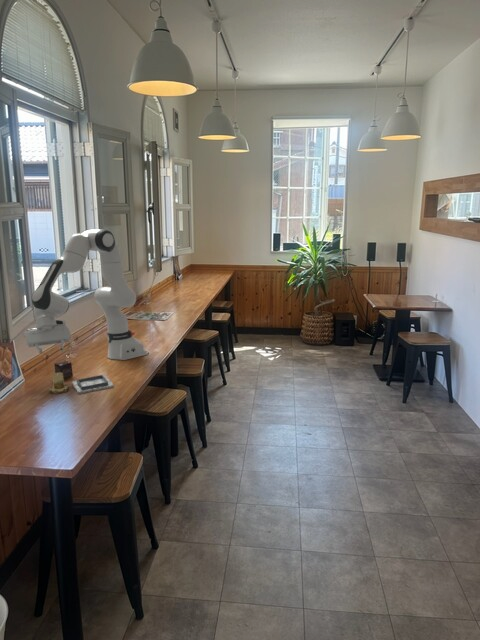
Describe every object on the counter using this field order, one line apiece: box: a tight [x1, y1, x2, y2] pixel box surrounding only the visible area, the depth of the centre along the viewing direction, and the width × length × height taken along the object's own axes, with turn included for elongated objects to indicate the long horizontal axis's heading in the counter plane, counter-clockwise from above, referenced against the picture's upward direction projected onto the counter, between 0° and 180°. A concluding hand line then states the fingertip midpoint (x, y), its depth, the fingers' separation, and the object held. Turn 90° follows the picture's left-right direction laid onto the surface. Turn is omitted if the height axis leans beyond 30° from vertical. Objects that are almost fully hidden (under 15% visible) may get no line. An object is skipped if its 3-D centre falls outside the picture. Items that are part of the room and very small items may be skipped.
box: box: [53, 360, 74, 380], centre depth 239 cm, size 6×6×7 cm
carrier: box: [71, 374, 115, 395], centre depth 227 cm, size 16×16×2 cm
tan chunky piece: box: [48, 372, 71, 395], centre depth 221 cm, size 9×8×8 cm
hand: (51, 351), depth 228 cm, fingers open, 8 cm apart
